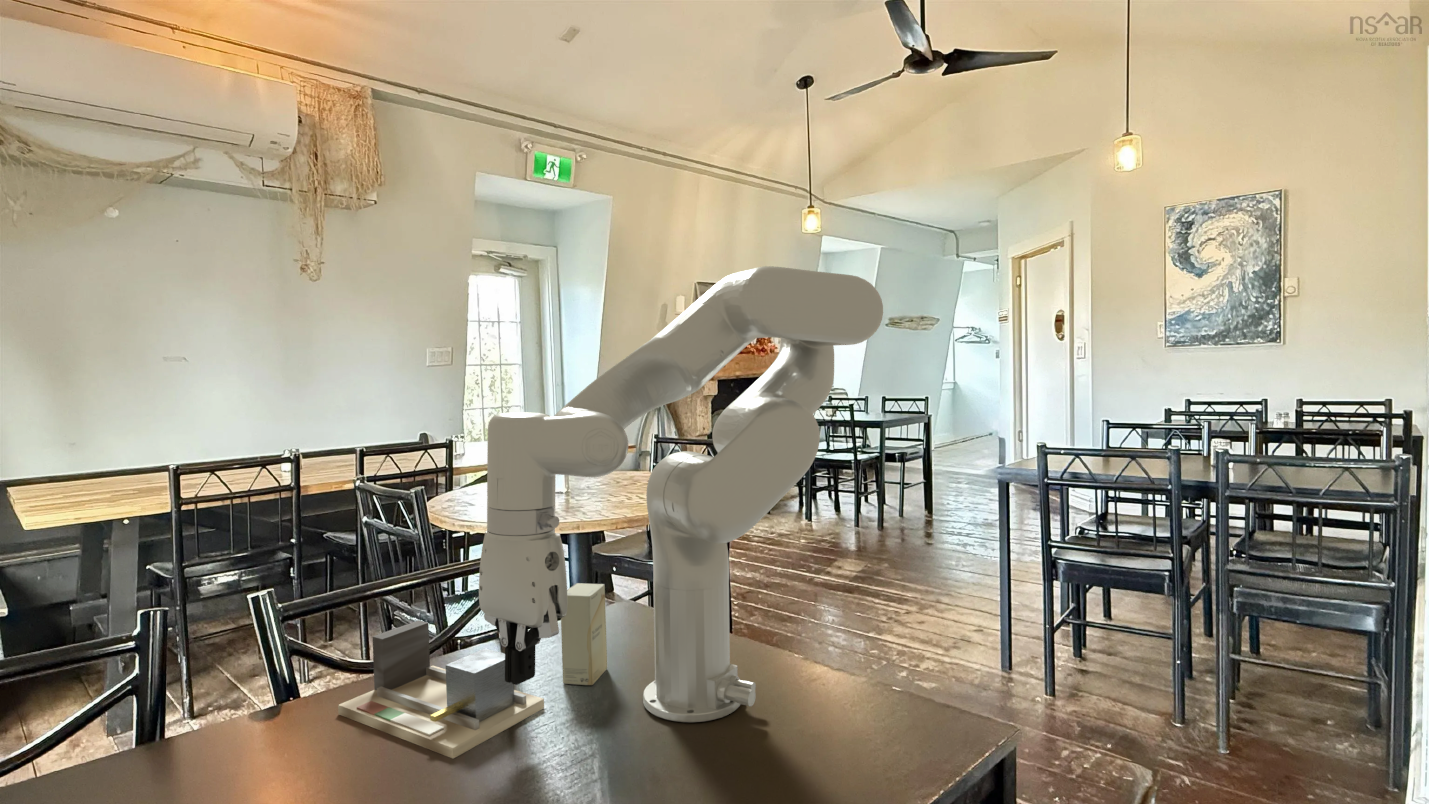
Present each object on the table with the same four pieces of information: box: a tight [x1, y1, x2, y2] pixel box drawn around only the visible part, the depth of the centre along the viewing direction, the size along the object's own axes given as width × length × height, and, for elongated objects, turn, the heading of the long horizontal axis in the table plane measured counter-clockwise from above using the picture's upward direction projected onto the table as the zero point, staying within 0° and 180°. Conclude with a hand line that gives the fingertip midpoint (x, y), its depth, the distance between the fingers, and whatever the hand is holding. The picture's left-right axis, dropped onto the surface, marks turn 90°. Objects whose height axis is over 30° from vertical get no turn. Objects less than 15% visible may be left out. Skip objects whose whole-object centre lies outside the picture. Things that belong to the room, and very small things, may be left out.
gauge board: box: [337, 619, 545, 759], centre depth 95 cm, size 21×14×8 cm, turn 58°
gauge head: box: [430, 648, 515, 722], centre depth 91 cm, size 5×10×6 cm, turn 148°
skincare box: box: [560, 582, 608, 686], centre depth 105 cm, size 6×4×12 cm
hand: (520, 679), depth 88 cm, fingers closed
